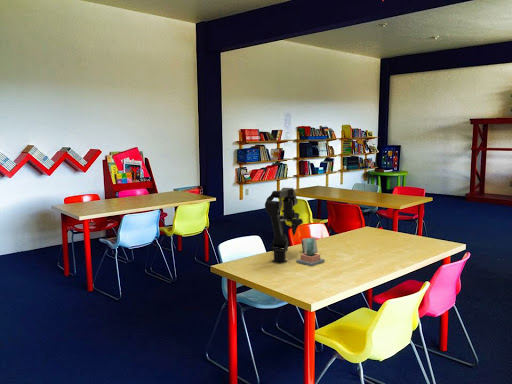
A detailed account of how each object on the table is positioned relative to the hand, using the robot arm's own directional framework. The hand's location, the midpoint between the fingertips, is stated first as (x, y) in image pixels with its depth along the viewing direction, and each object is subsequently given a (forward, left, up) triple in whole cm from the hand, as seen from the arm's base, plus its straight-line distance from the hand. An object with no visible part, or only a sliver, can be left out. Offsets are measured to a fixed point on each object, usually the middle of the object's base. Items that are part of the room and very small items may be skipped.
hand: (288, 233), depth 268 cm
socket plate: (-3, -20, -13) cm, 24 cm away
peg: (-3, -20, -12) cm, 23 cm away
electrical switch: (+13, -6, -13) cm, 19 cm away
